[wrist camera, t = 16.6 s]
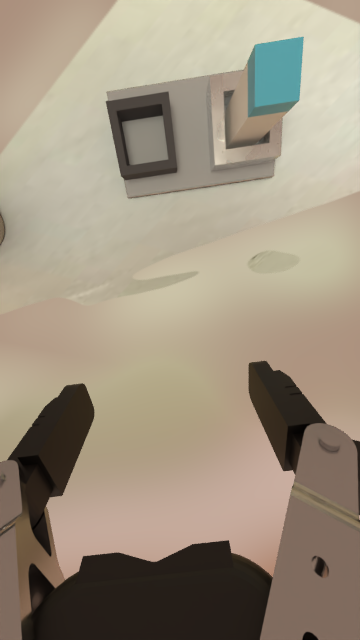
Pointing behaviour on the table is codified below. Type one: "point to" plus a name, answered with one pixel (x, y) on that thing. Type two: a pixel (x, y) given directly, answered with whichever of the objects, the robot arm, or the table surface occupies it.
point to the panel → (179, 141)
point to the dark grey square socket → (140, 110)
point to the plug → (264, 91)
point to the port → (221, 157)
